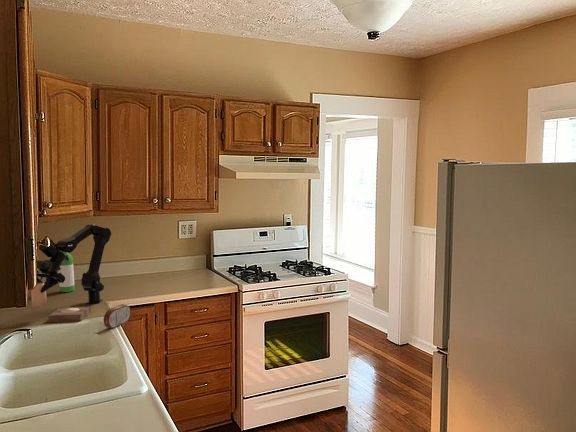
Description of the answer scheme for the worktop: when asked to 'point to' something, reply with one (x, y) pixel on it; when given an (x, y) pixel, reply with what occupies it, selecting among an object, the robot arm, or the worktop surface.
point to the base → (69, 314)
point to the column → (38, 296)
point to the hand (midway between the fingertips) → (36, 291)
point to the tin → (117, 316)
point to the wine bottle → (67, 275)
